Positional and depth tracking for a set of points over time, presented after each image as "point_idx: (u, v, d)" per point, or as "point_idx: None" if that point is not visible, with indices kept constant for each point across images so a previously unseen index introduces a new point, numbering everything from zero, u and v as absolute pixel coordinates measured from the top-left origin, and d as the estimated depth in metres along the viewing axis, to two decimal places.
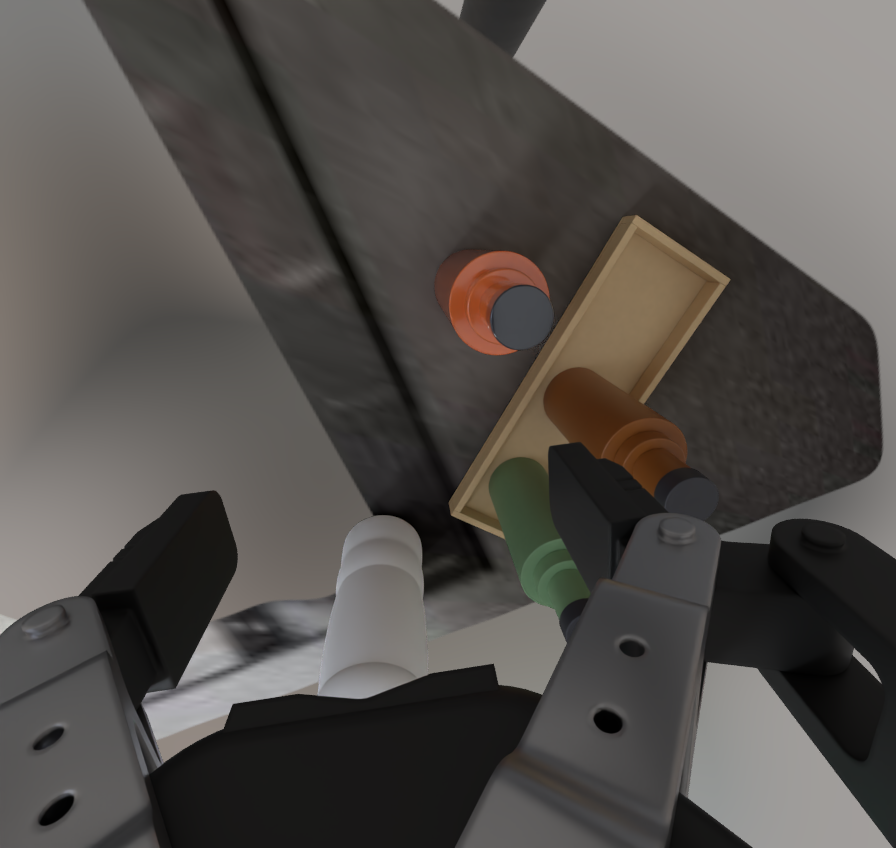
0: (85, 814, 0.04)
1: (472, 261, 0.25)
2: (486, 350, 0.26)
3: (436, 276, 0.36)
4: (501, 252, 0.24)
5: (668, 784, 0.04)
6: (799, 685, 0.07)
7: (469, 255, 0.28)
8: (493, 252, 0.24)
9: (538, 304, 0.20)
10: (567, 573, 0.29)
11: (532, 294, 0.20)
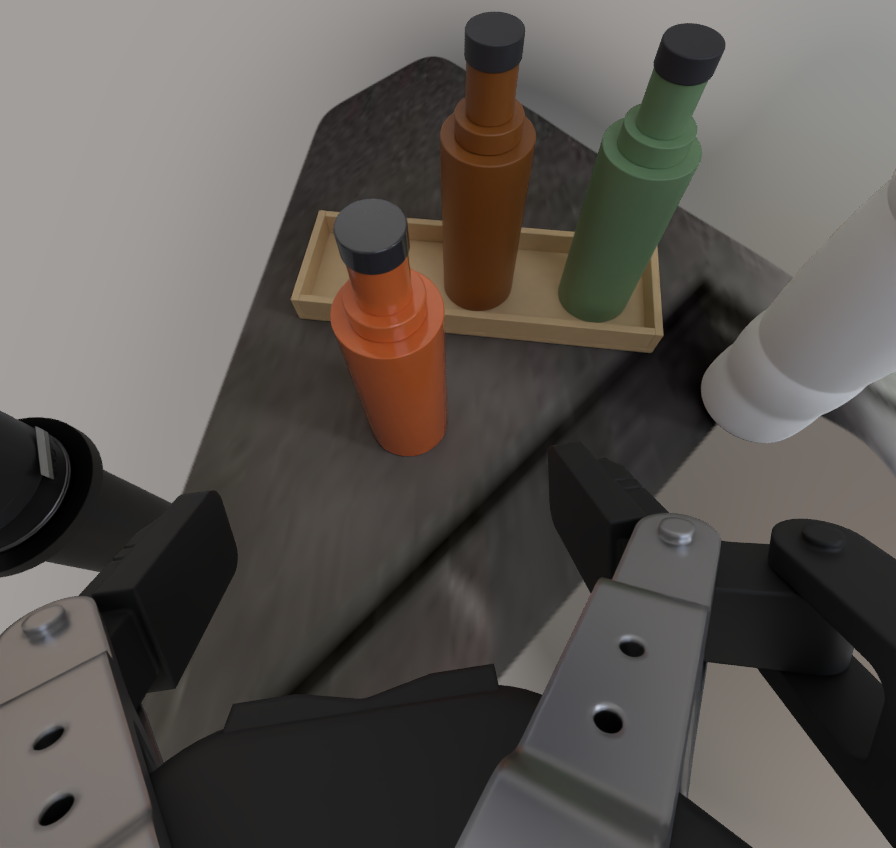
0: (85, 814, 0.04)
1: (352, 350, 0.22)
2: (439, 304, 0.23)
3: (410, 452, 0.32)
4: (334, 327, 0.22)
5: (668, 784, 0.04)
6: (799, 685, 0.07)
7: (359, 382, 0.25)
8: (336, 334, 0.22)
9: (350, 216, 0.18)
10: (644, 125, 0.25)
11: (341, 225, 0.18)
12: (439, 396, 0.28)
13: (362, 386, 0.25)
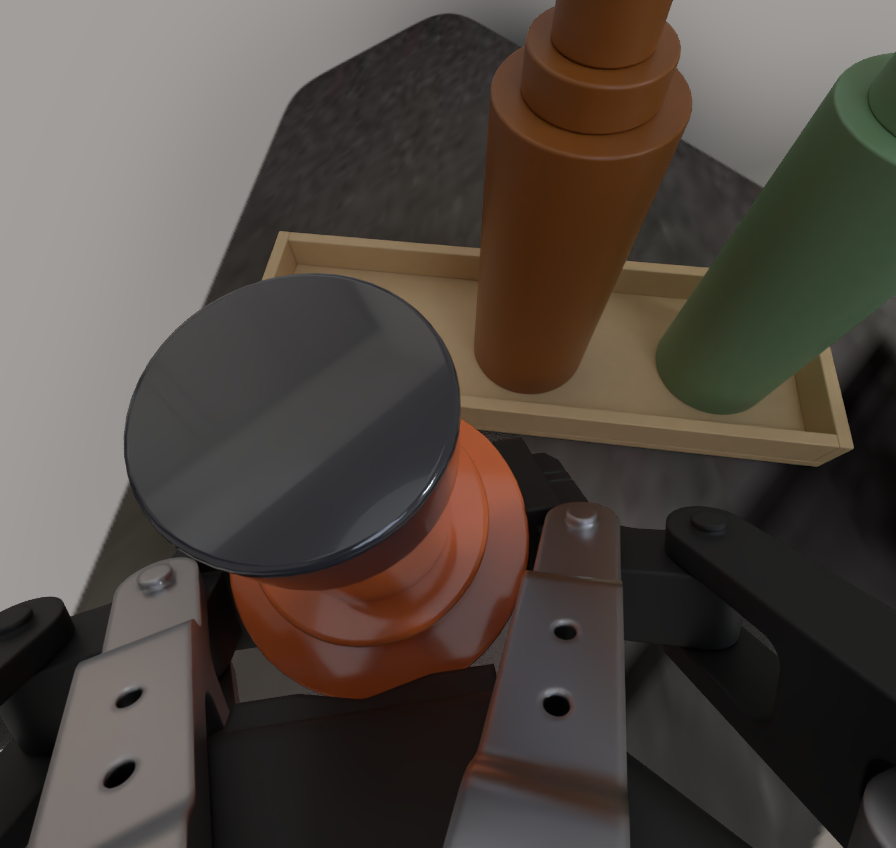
0: (140, 786, 0.04)
1: (280, 667, 0.08)
2: (516, 514, 0.09)
3: None
4: (236, 588, 0.08)
5: (618, 750, 0.04)
6: (703, 662, 0.08)
7: None
8: (241, 612, 0.08)
9: (208, 360, 0.04)
10: None
11: (164, 403, 0.04)
12: None
13: None
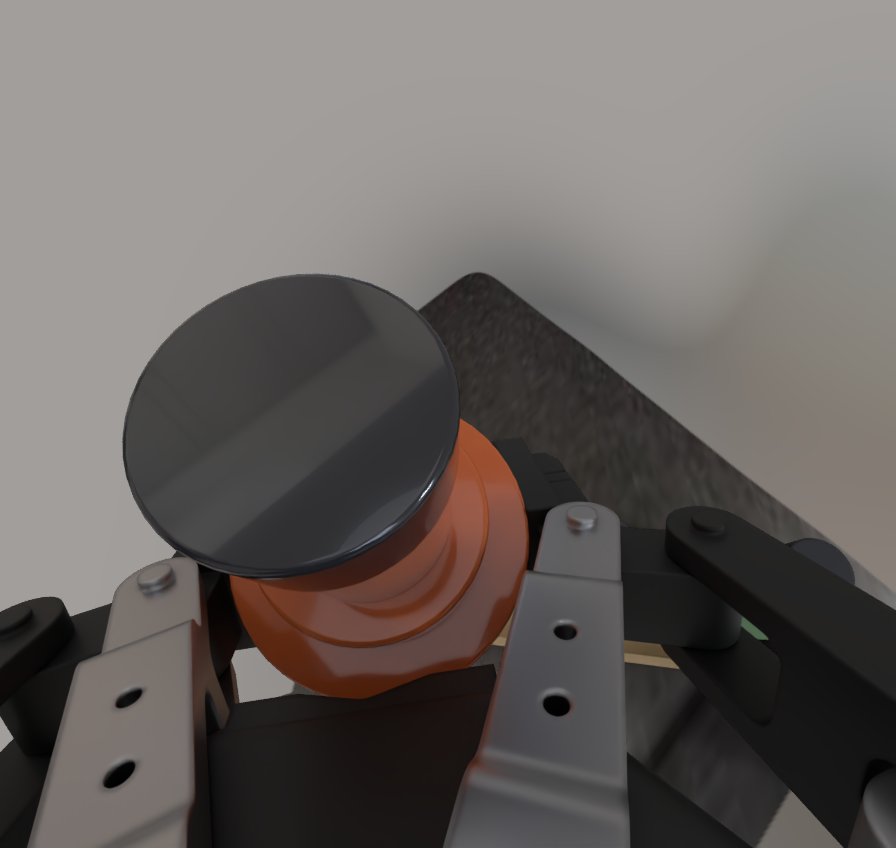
0: (141, 786, 0.04)
1: (280, 668, 0.08)
2: (516, 514, 0.09)
3: None
4: (235, 589, 0.08)
5: (618, 750, 0.04)
6: (703, 662, 0.08)
7: None
8: (241, 612, 0.08)
9: (207, 361, 0.04)
10: None
11: (163, 404, 0.04)
12: None
13: None
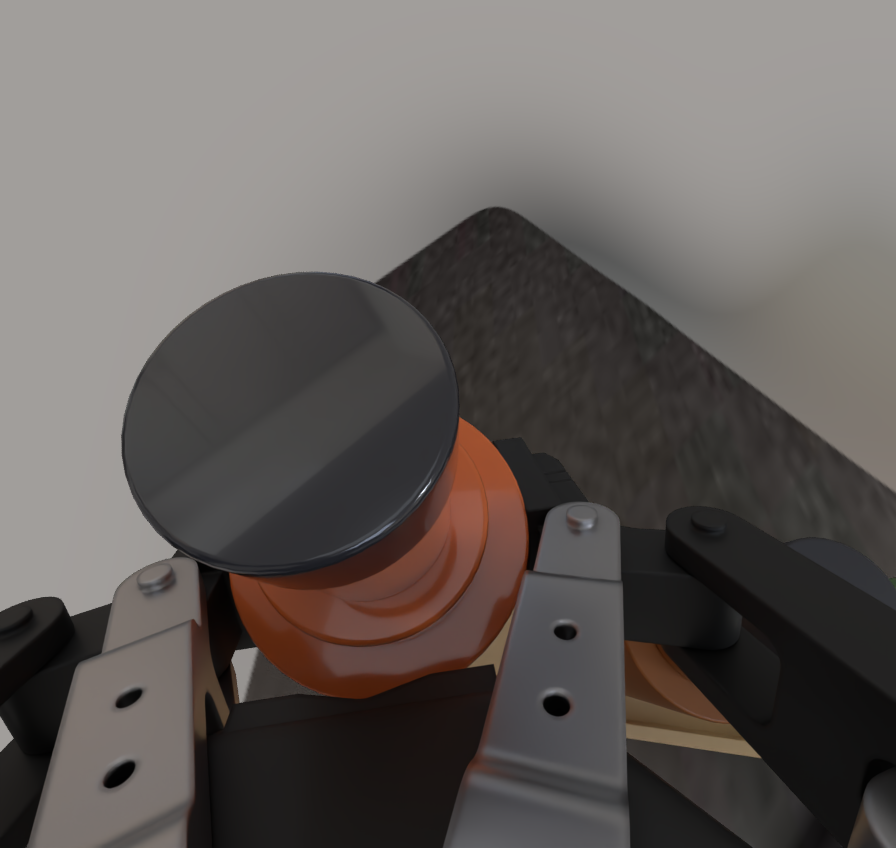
0: (140, 786, 0.04)
1: (280, 667, 0.08)
2: (516, 513, 0.09)
3: None
4: (235, 588, 0.08)
5: (618, 750, 0.04)
6: (703, 663, 0.08)
7: None
8: (240, 611, 0.08)
9: (206, 359, 0.04)
10: None
11: (162, 402, 0.04)
12: None
13: None
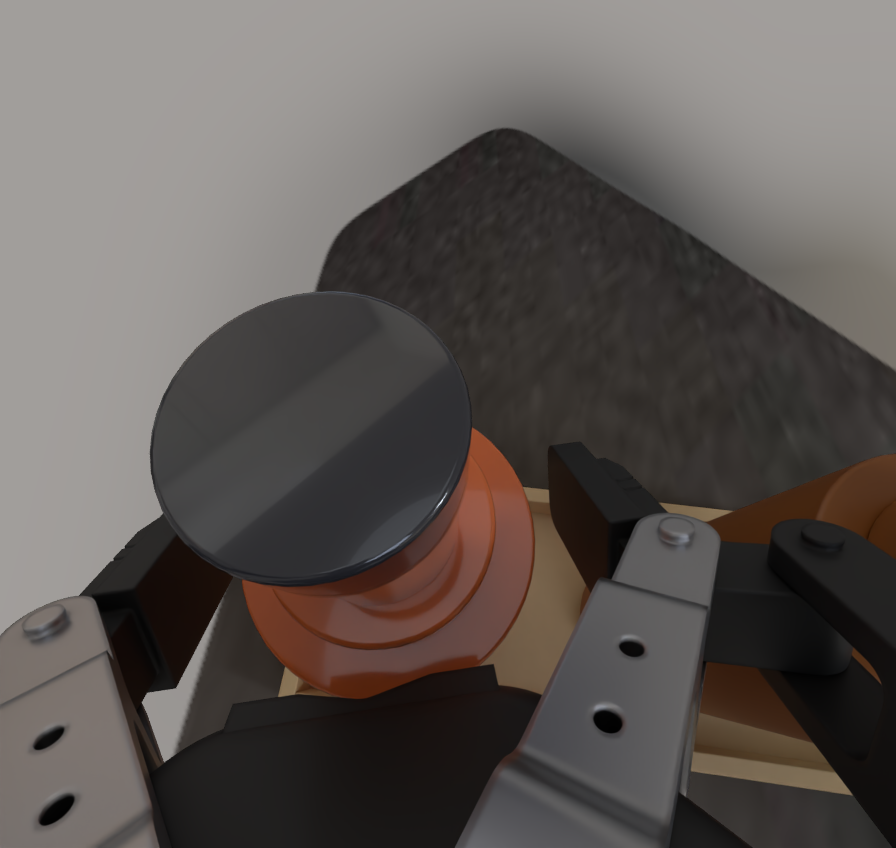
0: (85, 814, 0.04)
1: (293, 669, 0.08)
2: (522, 518, 0.09)
3: None
4: (248, 592, 0.08)
5: (667, 783, 0.04)
6: (799, 685, 0.07)
7: None
8: (253, 615, 0.08)
9: (229, 377, 0.04)
10: None
11: (188, 420, 0.04)
12: None
13: None
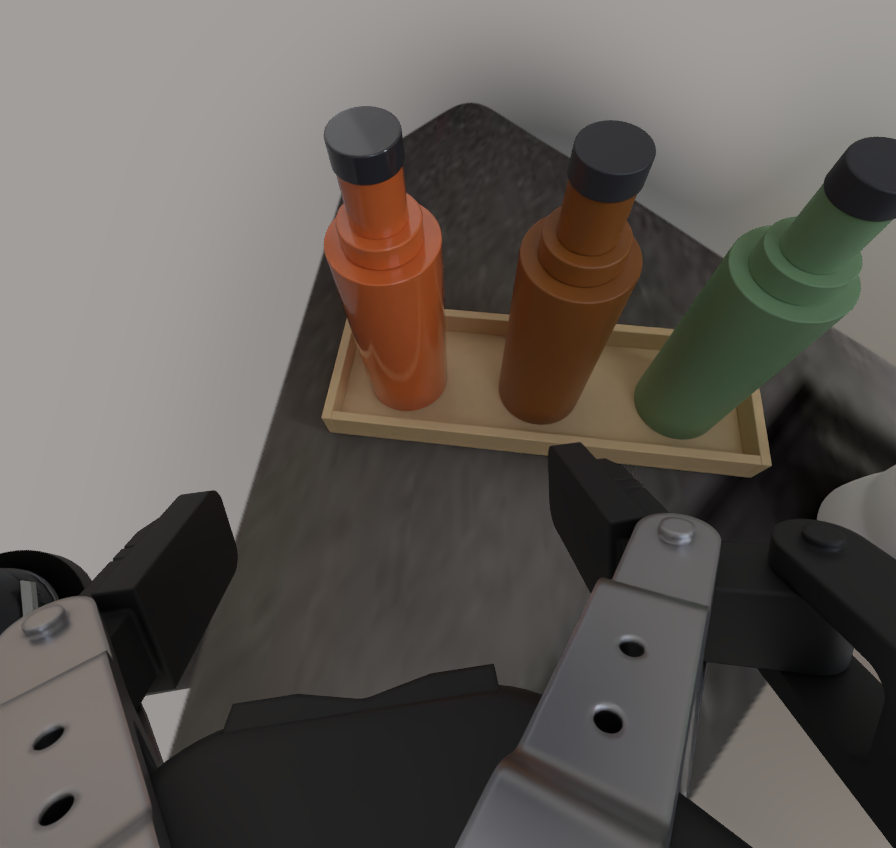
0: (86, 814, 0.04)
1: (346, 277, 0.21)
2: (437, 232, 0.22)
3: (409, 405, 0.31)
4: (327, 256, 0.22)
5: (668, 784, 0.04)
6: (799, 685, 0.07)
7: (354, 320, 0.24)
8: (330, 263, 0.21)
9: (341, 123, 0.17)
10: (797, 257, 0.19)
11: (332, 131, 0.17)
12: (438, 340, 0.27)
13: (358, 324, 0.24)
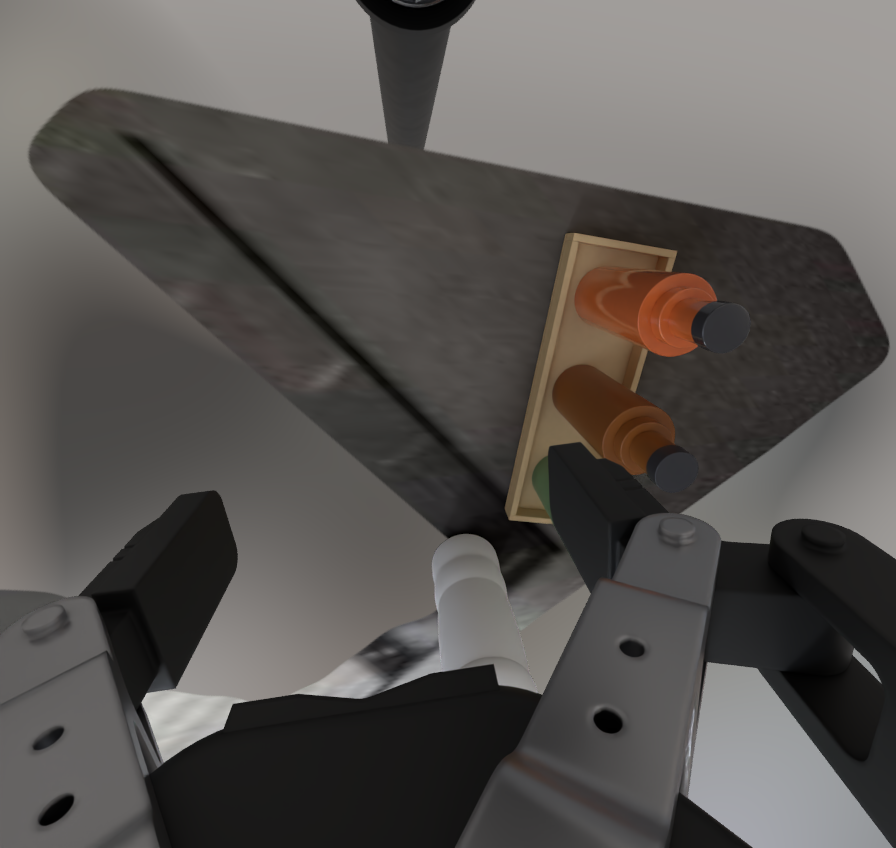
0: (86, 814, 0.04)
1: (649, 292, 0.31)
2: (674, 353, 0.32)
3: (577, 300, 0.42)
4: (670, 277, 0.31)
5: (668, 784, 0.04)
6: (799, 685, 0.07)
7: (629, 283, 0.34)
8: (663, 279, 0.31)
9: (736, 314, 0.27)
10: None
11: (730, 309, 0.26)
12: (613, 334, 0.38)
13: (626, 285, 0.34)
